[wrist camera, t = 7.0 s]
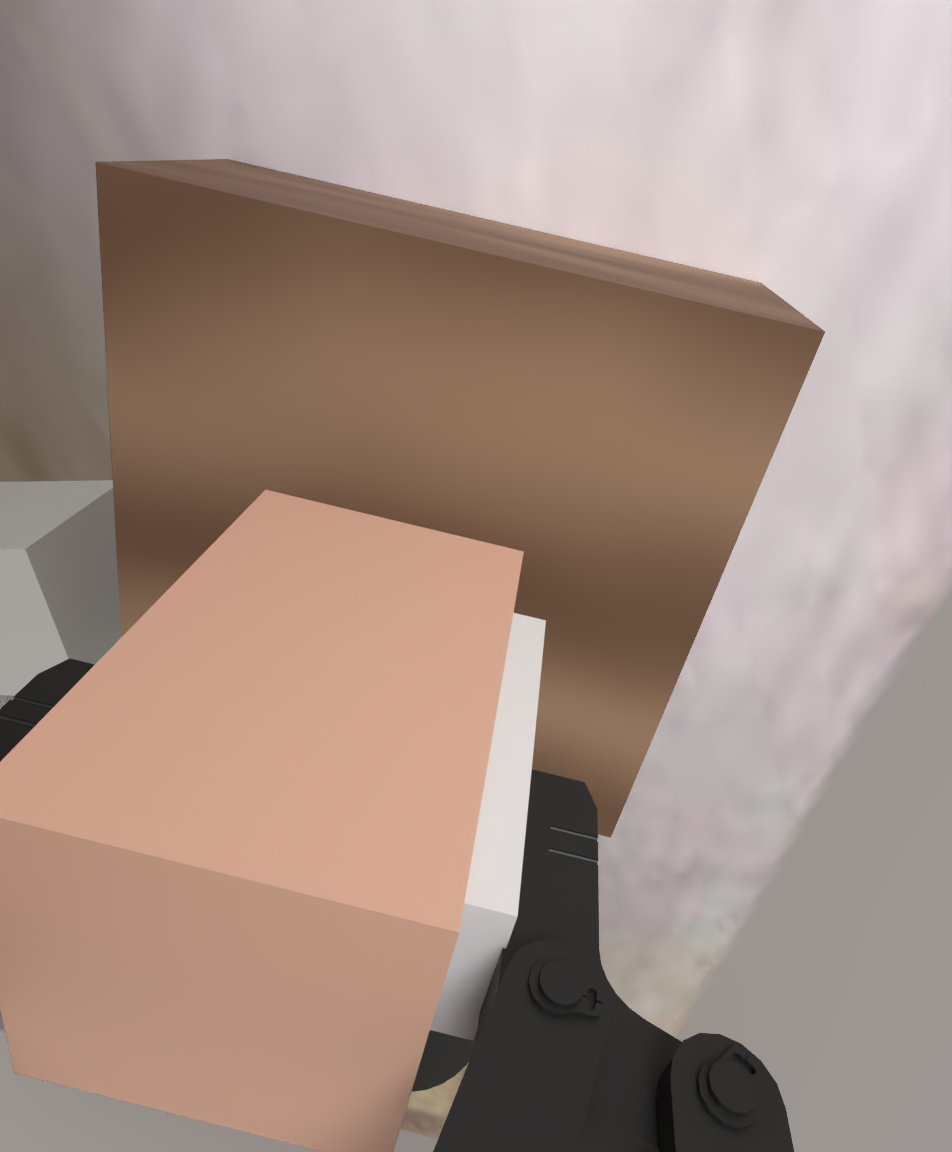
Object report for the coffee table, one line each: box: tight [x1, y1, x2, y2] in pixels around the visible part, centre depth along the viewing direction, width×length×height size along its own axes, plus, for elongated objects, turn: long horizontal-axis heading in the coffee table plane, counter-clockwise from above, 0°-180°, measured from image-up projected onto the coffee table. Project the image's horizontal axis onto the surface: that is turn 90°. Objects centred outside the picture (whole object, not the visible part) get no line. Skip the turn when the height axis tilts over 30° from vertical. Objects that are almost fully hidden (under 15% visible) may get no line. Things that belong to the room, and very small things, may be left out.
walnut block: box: [96, 159, 825, 837], centre depth 20 cm, size 14×14×6 cm
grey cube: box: [0, 480, 121, 696], centre depth 24 cm, size 5×5×5 cm
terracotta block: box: [0, 490, 524, 1152], centre depth 12 cm, size 5×5×8 cm
